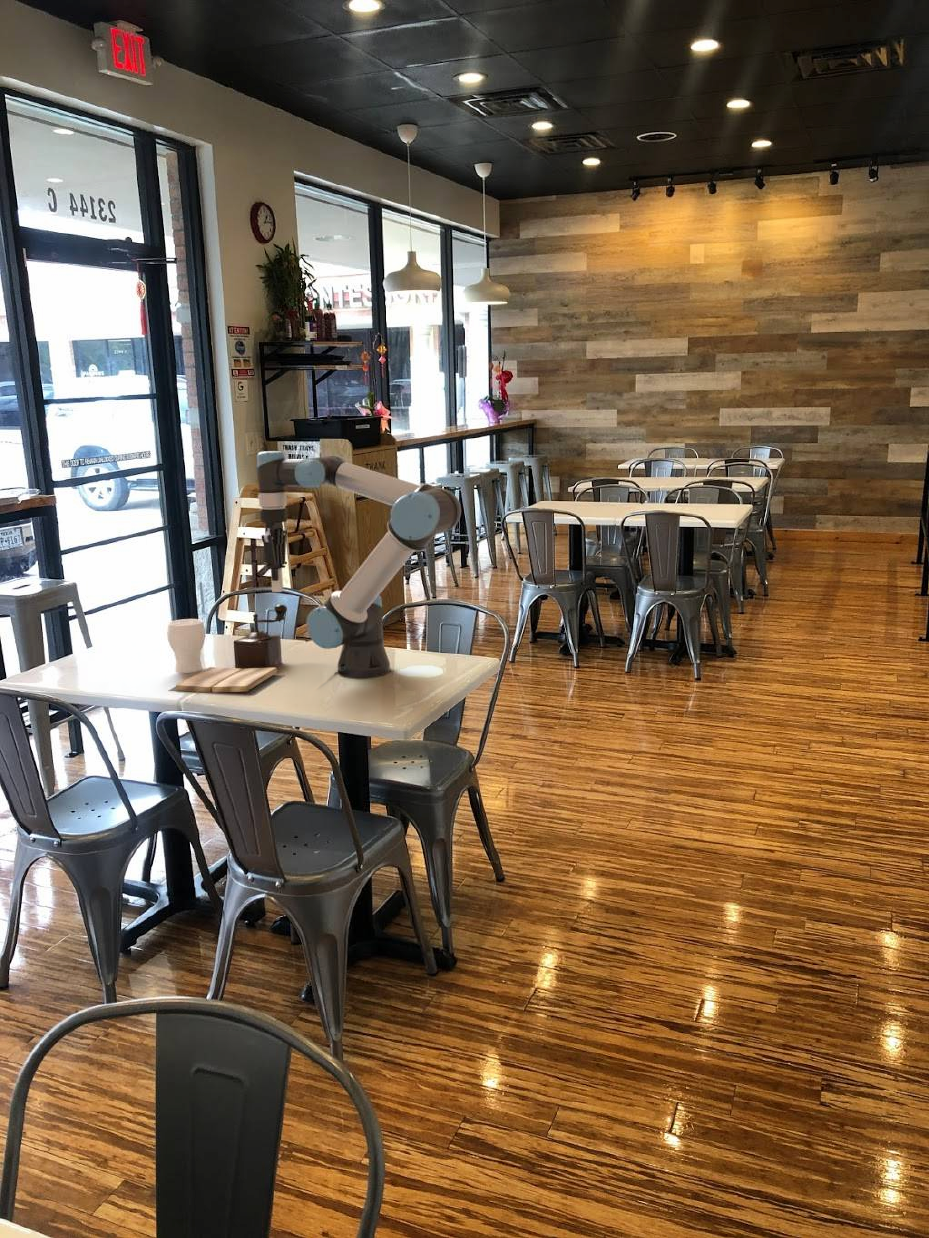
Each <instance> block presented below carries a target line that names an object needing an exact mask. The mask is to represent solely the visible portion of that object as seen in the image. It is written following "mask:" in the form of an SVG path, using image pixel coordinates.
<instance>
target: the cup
mask: <svg viewBox="0 0 929 1238" xmlns="http://www.w3.org/2000/svg"><path fill="white" fill-rule="evenodd" d="M166 634H167V635H166V637H167V640H168V641H167V642H168V643H169V646H170V648H171V649H172V651H173V654H174V657H175V661H176V662H175V663H176V664H175V672H177V673H185V674H189V673H190V674H191V673H195V672H199V671H200V672H201V671H203V665H202V662H201V661H202V660H201V654H202V652H201V651H202V649H203V647H204V645H205V639H206V628H205V625H204V621H203V620H202V619H199V618H183V619H176V620H172V621H170V622H168V626H167V632H166Z"/></svg>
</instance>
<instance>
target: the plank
mask: <svg viewBox="0 0 929 1238" xmlns="http://www.w3.org/2000/svg"><path fill="white" fill-rule="evenodd" d="M277 673H278V671H277V667H274V668H246V669H242V670H240V671H239V672H237V673H235V674H233V675H232V676H230V677H228V678H226V679H225V680H223V681H221V682H220V683H218V684H216V685H214V686H213V687H212V692H243V691H248V690H250V689H252V688H253V687H255V686H256V685H258V684H260V683H261V682H263V681H264V680H266V679H267V678H269V677H271V676H272V675H276V674H277Z"/></svg>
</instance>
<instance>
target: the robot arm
mask: <svg viewBox="0 0 929 1238" xmlns="http://www.w3.org/2000/svg"><path fill="white" fill-rule="evenodd" d="M256 474H257V484H258V495H257V499H258V505H259V507H260V509H259V521H260V522H261V523H265V528H264V534H262V535H261V541H262V543H263V549H264V550H263V551H264V556H265V563H266V568H267V570H270V574H271V575H270V577H271V579H270V580H271V592H272V593H282V592H284V584H283V569H285V568H286V565H285V564H286V551H287V550H286V548H287V536H288V530H287V529H284V525H283V523H285V522H287V521H288V509H287V508H286V506H288V501H287V487H293V488H296V487H297V488H306V489H308V488H317V487H319V486H321V485H329V486H332V487H335V488H338V489H342V490H343V491H347V492H350V493H353V494H356V495H360V496H362V497H364V498H368V499H371V500H375V501H377V502H380V503H383V504H384V505H389V506H392V508H391V510H390V516H391V517H390V519H389V520H388V522H387V524H386V526H387V532H386V533H385V535H384V536H383V537H382V539H381V540H380V541H379V542H378V544H377V545H376V546H375V547H374V548H373V550H372V551H371V552H370V554H369V555H368V556H367V557H366V559H365V560H364V561H363V563H362V564H361V565H360V566H359V568H358V569H357V570H356V572H355V573H354V574H353V575H352V577H351V578H350V580H349V581H347V583H346V584H345V586H344V587H343V588H342V590H335V591H333V592H332V593H331V594H330V596H329V597H328V598H327V600H325V602H324V603H323V604H322V606H317V607H315V608H313V610H311V611H310V612H309V614H308V615H307V619H306V627H307V633H308V636H309V638H310V639H311V641H312V642H313V643H314V644H315V645H317V647H320V648H322V649H326V650H327V649H328V650H331V649H336V648H338V647H340V646H342V648H341V651H340V655H339V658H338V662H337V667H336V668H337V673H338V674H339V675H340V676H343V677H348V678H373V677H378V676H383V675H387V674H388V673H389V672H390V671H391V663H390V662H391V661H390V659H389V657H388V654H387V652H386V649H385V646H384V626H383V625H384V624H383V623H384V621H383V619H384V617H383V608H384V607H383V603H382V601H383V600H382V596H381V593H382V592H383V591H384V590H385V588H386V587H387V586H388V584H390V582H391V581H392V580H393V578H394V577H395V576H396V574H398V572H399V571H400V569H402V568H403V566H404V565H405V564H406V562H407V561H409V560H408V559H410V558H411V556H412V555H413V554H414V553H415V552H422V551H424V549H425V548H426V547H427V546H428V545H429V543H430V542H431V541H432V539H434V537H435V536H436V535H439V534H444V533H447V532H449V531H451V530H452V529H453V528H455V527H456V526H457V524H458V523H459V521H460V518H461V515H462V507H461V503H460V500H459V499H458V497H457V496H456V495H455V494H454V493H453V492H451V491H450V490H448V489H445V488H442V487H439V486H438V487H437V486H434V485H432V484H429V483H428V484H427V483H425V484H424V483H423V484H422V485H420V484H416V483H412V482H409V481H407V480H406V481H405V480H404V479H400V478H397V477H394V476H390V475H388V474H384V473H382V472H378V471H376V470H371V469H369V468H366V467H363V466H359V465H356V464H353V463H350V462H347V461H346V460H345V459H344V458H343V457H341V456H338V455H336V456H335V455H328V456H319V457H310V458H285V453H284V452H283V451H282V450H281V451H277V450H276V451H275V450H273V451H271V450H270V451H269V450H268V451H260V452H258V454H257V455H256Z"/></svg>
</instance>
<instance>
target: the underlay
mask: <svg viewBox="0 0 929 1238" xmlns="http://www.w3.org/2000/svg"><path fill="white" fill-rule="evenodd" d="M285 676H286V674H274V675H272V676H271V677H269V678H267V679H266V680H264V681H263V682H261V683H260V684H258V685H256V686H255V687H253V688H252V689H250V690H248V691H243V692H197V693H203V694H217V695H218V694H222V695H223V694H224V695H236V696H237V695H241V696H242V695H243V696H256V695H258V693H260V692H262V691H264V690H265V689H266V688H268V687H270V686H271V685H273V684H274V683H276V682H278V681H279V680H280V679H282V678H284V677H285ZM167 691H168V692H177V691H176V686H174V687H172V688H170V689H168V690H167ZM178 692H181V693H194V692H193V691H178Z"/></svg>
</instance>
